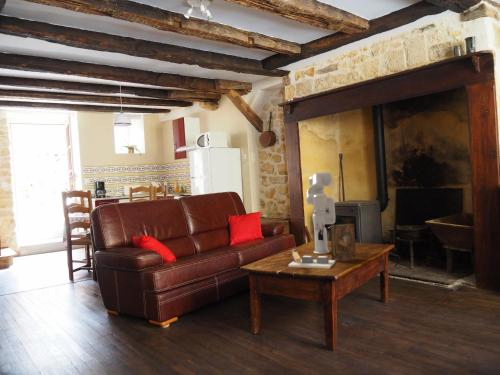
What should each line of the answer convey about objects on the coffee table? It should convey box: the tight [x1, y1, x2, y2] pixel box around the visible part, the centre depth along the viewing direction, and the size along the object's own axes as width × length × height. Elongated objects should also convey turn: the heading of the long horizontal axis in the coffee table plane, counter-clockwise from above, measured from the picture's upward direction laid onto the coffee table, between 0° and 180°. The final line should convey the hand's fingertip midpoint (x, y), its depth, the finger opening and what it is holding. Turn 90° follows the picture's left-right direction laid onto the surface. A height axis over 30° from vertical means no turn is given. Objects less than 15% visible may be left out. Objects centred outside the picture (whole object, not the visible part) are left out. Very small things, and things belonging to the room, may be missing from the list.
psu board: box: [288, 255, 336, 270], centre depth 282 cm, size 18×28×6 cm, turn 67°
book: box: [330, 223, 357, 263], centre depth 290 cm, size 16×6×25 cm, turn 101°
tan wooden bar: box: [291, 248, 302, 263], centre depth 275 cm, size 4×26×4 cm, turn 179°
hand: (320, 239), depth 279 cm, fingers closed
